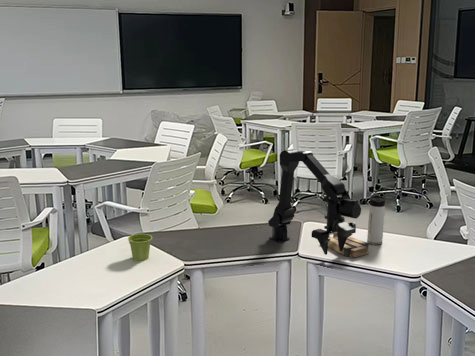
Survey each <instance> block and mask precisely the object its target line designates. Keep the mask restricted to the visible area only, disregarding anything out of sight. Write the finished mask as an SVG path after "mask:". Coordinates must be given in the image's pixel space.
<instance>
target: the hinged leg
mask: <svg viewBox="0 0 475 356" xmlns="http://www.w3.org/2000/svg"><path fill="white" fill-rule="evenodd" d="M328 239H330V241H329V242H328V249H329V248H330V249H332V250H334V251H336V253H339V254H341V255H343V256H345V257H349V256H350V252H351V249H352V247H350V246H348V245H346V244H345V245H344V247H343V250H342V251H340V250H339V245H338V240H336V239H334V238H333V236H331V235H329V238H328ZM350 257H351V256H350Z"/></svg>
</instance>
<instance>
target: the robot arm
mask: <svg viewBox="0 0 475 356" xmlns="http://www.w3.org/2000/svg"><path fill="white" fill-rule="evenodd" d="M300 162H302V163H303V164H304V165H305V166H306V167H307V169H308V170H309V171H310V172H311V173H312V175H313V176H314V177H315V178H316V179H317V180H318V182H319V184H320V187H321V190H322V191H323V193H324V195H325V197H324V198H323V199H322V202H325V203H326V215H324V219H325V220H326V225H324V229H325V230H324V229H322V228H317V229H313V230H312V231H311V238H314V239H316V240H317V241H318V243H319V245H320V247H321V249H322V252H323V254H324V255H325V256H326V255H328V252H329V251H328V249H329V247H328V242H329V241H330V239H328V238H329V235H330V236H331V235H333V234H336V233H337V237H338V245H339V250H340V251H342V250H343V247H344V245H345V242H346V240H347V238H348V237H352V236H353V234H355V233H356V232H357V231H356V230H357V229H356V228H357V225H356V222H354V221H350V222H346V221H345V219H346V218H352V219H358V218H359V217H360V216H361V214H362V208H361V205H360V204H359V201H358V199H351V196H350V194H349V193H348V191H347V189H346V185H345V184H344V182H342V181H341V180H340V179H339V178H337V177H335V176H334V175H331V173H329V171H328V170H327V169H326V168H325V167H324V166H323V164H321V163H320V161H319V160H318V159H317V158H316V156H314V154H313V152H312V151H310V150H307V151H305V150H300V151H299V150H298V149H296V148H293V149H285V150H282V151H280V154H279V165H280V168H281V181H280V188H279V189H280V191H279V199H278V203H277V205H276V207H275V208H274V211H273V214H272V217H271V218H270V219H269V220H268V221H267V222H268V226H269V227H272V229H271V230H272V231H271V236H269V239H270V240H274V241H275V242H277V243H278V242H283V241H287V240H290V239H291V238H290V237H288V225H291V222H292V221H293V219H294V218H295V212H296V208H295V207H293V206H292V203H291V202H292V201H291V200H292V195H293V194H292V193H293V184H294V177H295V176H294V175H295V171H296V169H298V166H299V164H300ZM345 217H346V218H345Z"/></svg>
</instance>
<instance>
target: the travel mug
mask: <svg viewBox="0 0 475 356" xmlns="http://www.w3.org/2000/svg"><path fill="white" fill-rule="evenodd" d="M368 208H369V209H368V222H367V235H366V236H367V239H366V242H367V243H369V245H373V246H378V245H382V244H383V238H384V224H385V223H384V222H385V211H386V198H385V197H384V196H380V195H379V194H377V195H376V194H374V195H372V196H370V198H369V206H368Z"/></svg>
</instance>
